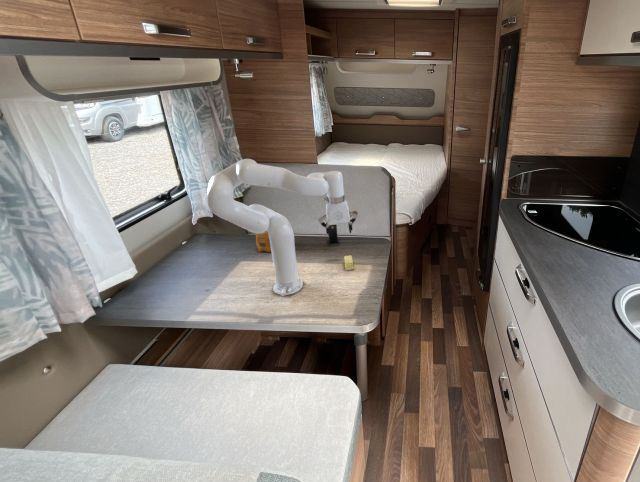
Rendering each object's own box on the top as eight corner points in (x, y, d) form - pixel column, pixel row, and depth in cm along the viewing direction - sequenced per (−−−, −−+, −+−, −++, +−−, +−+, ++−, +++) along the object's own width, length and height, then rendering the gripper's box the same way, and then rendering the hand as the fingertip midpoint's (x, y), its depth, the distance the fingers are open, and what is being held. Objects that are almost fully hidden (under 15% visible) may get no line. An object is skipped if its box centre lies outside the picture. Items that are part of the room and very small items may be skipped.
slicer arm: (358, 213, 191) (355, 208, 189) (358, 215, 188) (356, 210, 187) (331, 227, 189) (328, 223, 188) (331, 229, 186) (328, 225, 185)
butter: (353, 269, 166) (352, 262, 164) (345, 270, 165) (345, 263, 163) (351, 262, 172) (351, 255, 171) (344, 263, 171) (344, 256, 170)
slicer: (337, 239, 194) (336, 219, 190) (338, 244, 189) (337, 224, 185) (328, 240, 193) (327, 220, 189) (329, 245, 188) (327, 225, 183)
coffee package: (262, 243, 189) (256, 207, 181) (284, 243, 189) (279, 207, 181) (254, 252, 179) (248, 215, 171) (278, 252, 180) (272, 215, 172)
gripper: (316, 204, 143) (320, 240, 149) (356, 199, 148) (359, 234, 154) (315, 198, 149) (320, 232, 156) (354, 193, 154) (357, 227, 161)
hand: (339, 233), depth 155 cm, fingers open, 9 cm apart
